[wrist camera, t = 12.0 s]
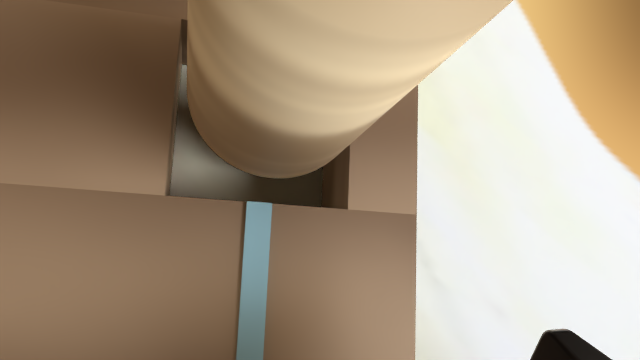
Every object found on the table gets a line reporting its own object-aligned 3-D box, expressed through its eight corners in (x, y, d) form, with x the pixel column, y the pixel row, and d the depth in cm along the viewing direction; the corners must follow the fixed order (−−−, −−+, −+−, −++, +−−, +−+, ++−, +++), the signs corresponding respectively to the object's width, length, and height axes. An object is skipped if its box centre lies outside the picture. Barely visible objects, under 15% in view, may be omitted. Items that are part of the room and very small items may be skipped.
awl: (312, 213, 17) (562, 61, 6) (180, 203, 17) (170, 7, 5) (317, 91, 18) (549, -257, 7) (191, 76, 17) (205, -350, 6)
